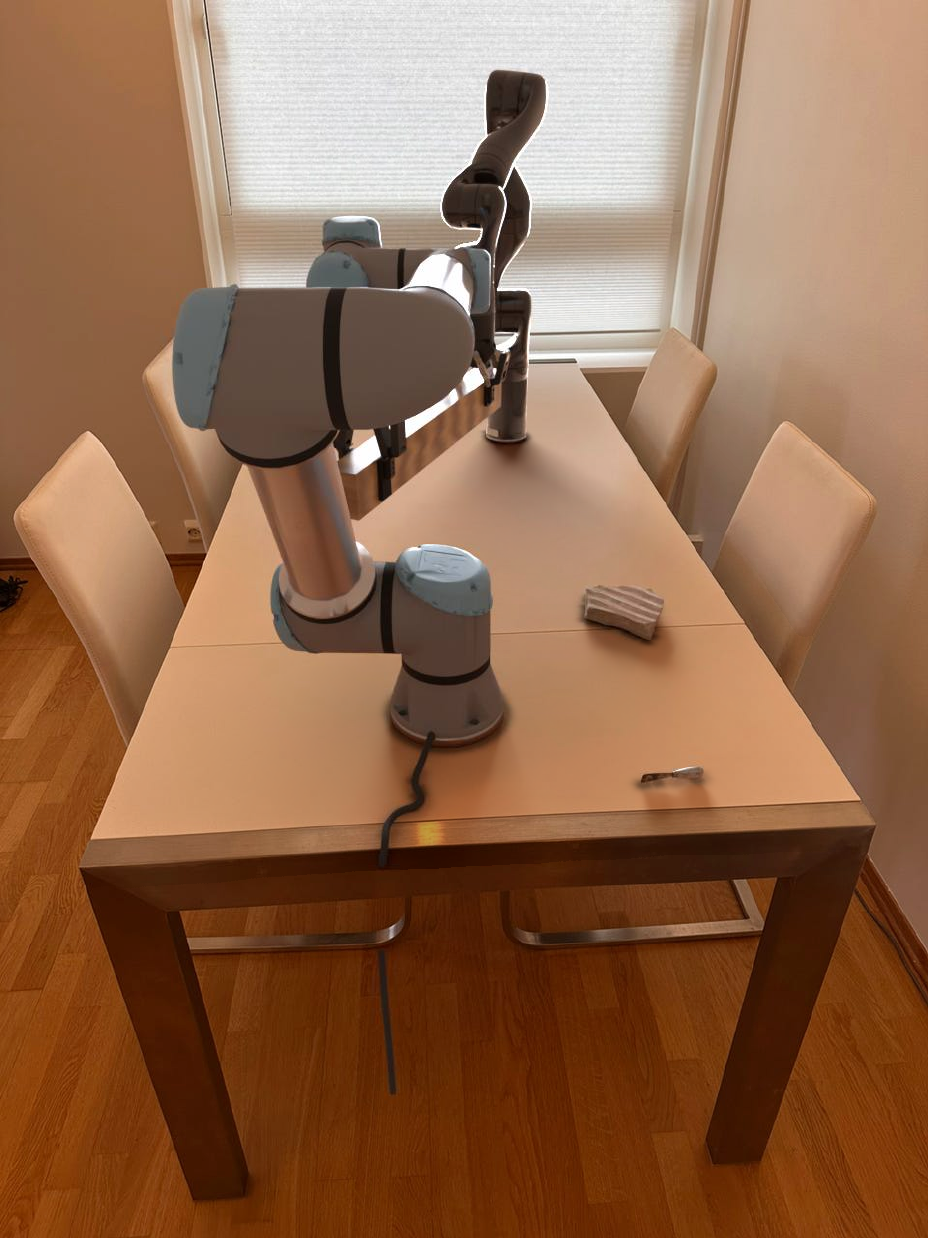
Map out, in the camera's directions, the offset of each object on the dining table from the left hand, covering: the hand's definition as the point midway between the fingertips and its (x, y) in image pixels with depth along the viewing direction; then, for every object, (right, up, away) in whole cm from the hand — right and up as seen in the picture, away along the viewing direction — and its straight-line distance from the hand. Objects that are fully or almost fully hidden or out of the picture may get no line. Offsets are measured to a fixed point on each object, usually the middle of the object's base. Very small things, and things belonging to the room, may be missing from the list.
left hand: (368, 494), depth 136 cm
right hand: (+16, +21, +30) cm, 40 cm away
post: (+8, +9, +16) cm, 20 cm away
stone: (+40, -19, +6) cm, 44 cm away
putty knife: (+40, -39, -26) cm, 62 cm away
